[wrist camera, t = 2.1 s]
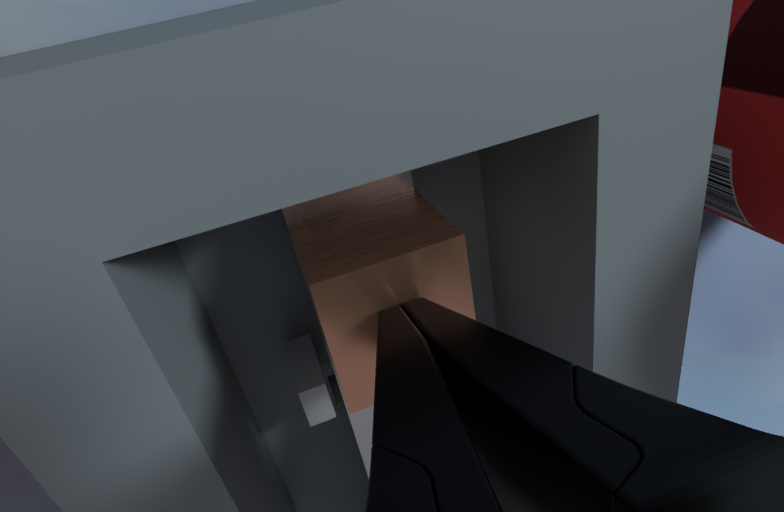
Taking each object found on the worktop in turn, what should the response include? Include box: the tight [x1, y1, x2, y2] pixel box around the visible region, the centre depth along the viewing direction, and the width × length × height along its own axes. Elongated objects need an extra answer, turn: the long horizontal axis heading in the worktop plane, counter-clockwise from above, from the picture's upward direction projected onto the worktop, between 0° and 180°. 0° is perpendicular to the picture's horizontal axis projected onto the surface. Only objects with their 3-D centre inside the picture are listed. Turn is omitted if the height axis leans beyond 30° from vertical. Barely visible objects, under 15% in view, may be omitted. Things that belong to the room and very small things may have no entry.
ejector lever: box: [282, 170, 476, 479], centre depth 14 cm, size 18×3×3 cm, turn 11°
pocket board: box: [0, 0, 733, 512], centre depth 15 cm, size 24×13×5 cm, turn 11°
